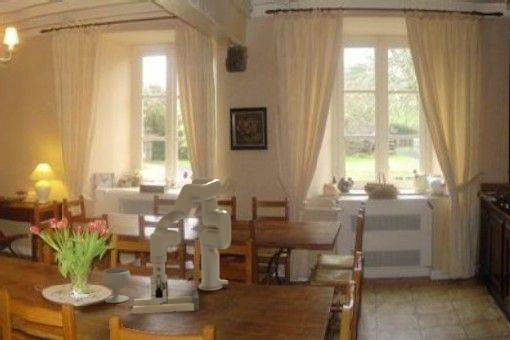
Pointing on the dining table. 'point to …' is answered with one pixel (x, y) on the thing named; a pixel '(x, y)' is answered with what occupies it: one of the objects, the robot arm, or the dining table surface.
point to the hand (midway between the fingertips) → (159, 294)
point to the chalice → (116, 283)
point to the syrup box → (153, 292)
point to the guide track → (173, 304)
